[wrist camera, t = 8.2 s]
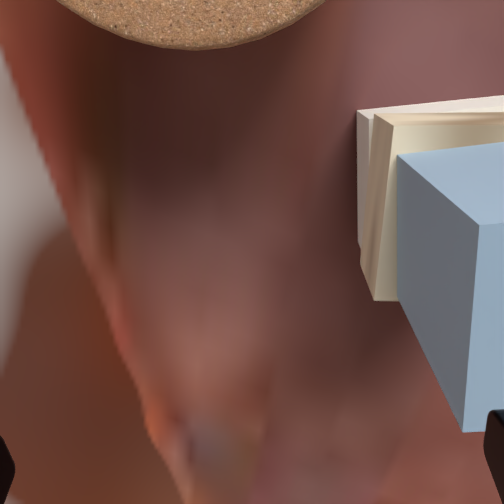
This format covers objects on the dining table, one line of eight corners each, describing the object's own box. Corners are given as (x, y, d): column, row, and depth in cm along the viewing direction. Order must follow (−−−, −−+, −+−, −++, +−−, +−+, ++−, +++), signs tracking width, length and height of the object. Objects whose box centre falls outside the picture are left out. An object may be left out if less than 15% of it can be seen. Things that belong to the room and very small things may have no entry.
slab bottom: (504, 94, 18) (544, 101, 15) (487, 230, 20) (519, 257, 17) (355, 109, 18) (369, 119, 16) (356, 239, 21) (368, 267, 18)
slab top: (547, 111, 15) (606, 123, 12) (509, 265, 18) (550, 303, 15) (374, 113, 16) (393, 125, 13) (359, 263, 18) (373, 300, 15)
